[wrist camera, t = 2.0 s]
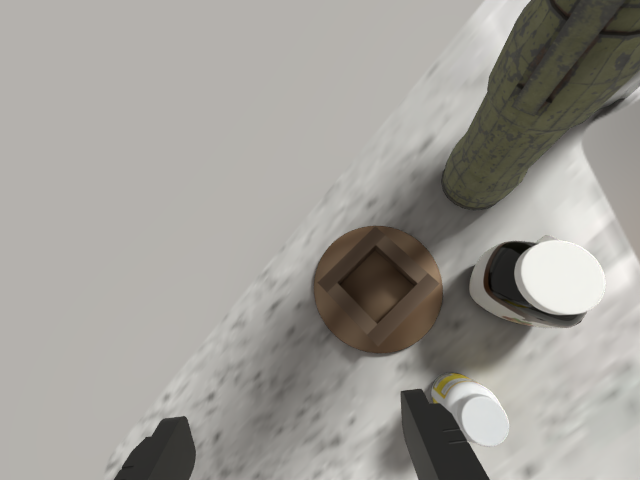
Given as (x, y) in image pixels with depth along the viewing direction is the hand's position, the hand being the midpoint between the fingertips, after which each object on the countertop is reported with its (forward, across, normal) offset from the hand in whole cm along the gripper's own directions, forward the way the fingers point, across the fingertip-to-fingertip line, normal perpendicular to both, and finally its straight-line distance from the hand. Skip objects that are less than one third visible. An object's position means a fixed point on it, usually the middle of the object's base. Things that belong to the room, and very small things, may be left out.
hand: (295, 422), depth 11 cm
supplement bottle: (+21, -16, +20) cm, 32 cm away
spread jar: (+26, -26, +8) cm, 38 cm away
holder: (+28, -9, +8) cm, 31 cm away
